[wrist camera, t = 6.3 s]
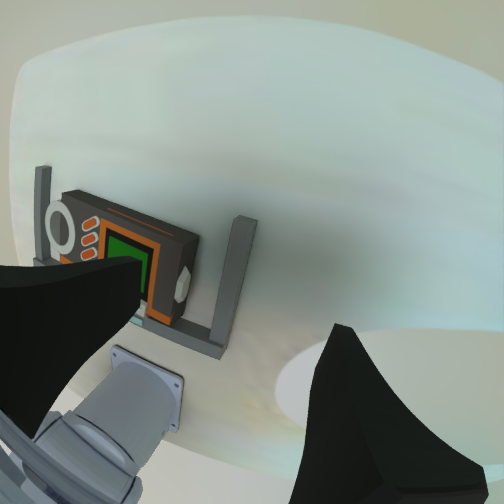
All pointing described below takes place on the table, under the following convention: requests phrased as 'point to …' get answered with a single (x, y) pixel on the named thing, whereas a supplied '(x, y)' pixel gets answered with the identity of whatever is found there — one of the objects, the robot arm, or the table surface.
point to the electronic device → (126, 247)
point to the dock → (181, 330)
